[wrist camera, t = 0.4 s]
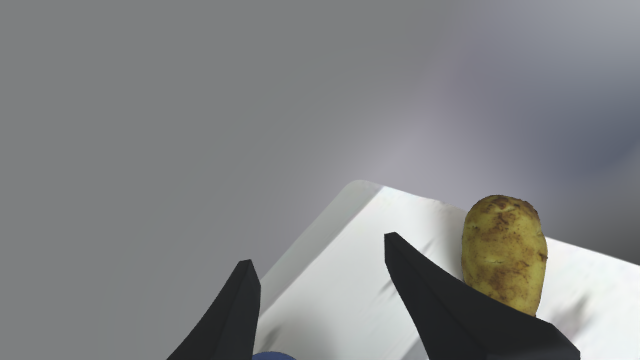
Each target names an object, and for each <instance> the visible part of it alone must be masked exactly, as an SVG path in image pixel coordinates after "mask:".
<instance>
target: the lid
mask: <svg viewBox="0 0 640 360" xmlns="http://www.w3.org/2000/svg"><path fill="white" fill-rule="evenodd" d="M252 360H296V359H294V358H293V357H291V356H289V355H287V354H283V353H280V352H262V353H258V354H255V355H252Z"/></svg>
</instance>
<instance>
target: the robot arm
mask: <svg viewBox="0 0 640 360" xmlns="http://www.w3.org/2000/svg"><path fill="white" fill-rule="evenodd" d="M384 243H385V263H386V266H387V269H388V271H389V274H390V277H391V279H392V281H393V283H394V285H395V287H396V289H397V291H398V293H399V295H400V297H401V299H402V301H403V302H404V304H405V306H406V308H407V310H408V312H409V314H410V316H411V318H412V320H413V322H414V324H415V326H416V328H417V330H418V333H419V335H420V338H421V340H422V342H423V345H424V347H425V350H426V352H427V355H428V357H429V360H580V351H579V350H578V349H577V348H576V347H575V346H574V345H573V344H572V343H571V342H570V341H569V340H568V339H567V338H566V337H565V336H564V335H563V334H562V333H561V332H560V331H559V330H558V329H557V328H556V327H555V326H554V325H553V324H551V323H548V322H546V321H543V320H541V319H538V318H536V317H533V316H531V315H528V314H526V313H523V312H521V311H519V310H516V309H514V308H512V307H510V306H508V305H505V304H503V303H501V302H499V301H497V300H495V299H493V298H491V297H489V296H487V295H485V294H483V293H481V292H479V291H477V290H476V289H474V288H472V287H470V286H468V285H467V284H465V283H463V282H462V281H460V280H458V279H457V278H455V277H453V276H452V275H450V274H449V273H447V272H446V271H444V270H443V269H442V268H440V267H439V266H437V265H436V264H435V263H433V262H432V261H430V260H429V259H428V258H427V257H425V256H424V255H423V254H421V253H420V252H419V251H418V250H416V249H415V248H414V247H413V246H412V245H410V244H409V243H408V242H407V241H406V240H405V239H403V238H402V237H401V236H400V235H399V234H398V233H396V232H392V233H387V234H384ZM260 295H261V285H260V282H259V279H258V277H257V274H256V271H255V269H254V266H253V264H252V261H251V260H250V259H249V260H244V261H240V262H239V263H238V264H237V266H236V267H235V269H234V271H233V272H232V274H231V276H230V277H229V279H228V280H227V282H226V284H225V285H224V287H223V288H222V290H221V291H220V293H219V294H218V296H217V297H216V299H215V300H214V302H213V303H212V305H211V306H210V307H209V309H208V310H207V312H206V313H205V314H204V316H203V317H202V318H201V320H200V321H199V323H198V324H197V325H196V326H195V327H194V329H193V330H192V331H191V332H190V334H189V335H188V336H187V337H186V338H185V340H184V341H183V342H182V343H181V344H180V345H179V346H178V348H177V349H176V350H175V351H174V352H173V353H172V354H171V355H170V356H169V357H168V358H167V360H252V355H253V348H254V341H255V335H256V329H257V322H258V316H259V309H260Z"/></svg>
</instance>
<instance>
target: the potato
mask: <svg viewBox="0 0 640 360" xmlns="http://www.w3.org/2000/svg"><path fill="white" fill-rule="evenodd" d="M547 252H548V251H547V243H546V240H545V237H544V235H543V233H542V231H541V224H540V219H539V217H538V213H537V211H536V210H535V209H534V208H533V206H532V205H530V204H529V203H528V202H527V201H522V200H521V199H516V198H513V197H508V196H503V195H491V196H488V197H485V198H483V199H481V200H480V201H478V202H477V203H476V204H475V205H474V206H473V207H472V208H471V210H470V211H469V212H468V214H467V216H466V219H465V223H464V229H463V236H462V258H461V260H462V270H463V276H464V280H465V283H466V284H467V285H468V286H470V287H472V288H474V289H476V290H477V291H479V292H481V293H483V294H485V295H487V296H489V297H491V298H493V299H495V300H497V301H499V302H501V303H503V304H505V305H508V306H510V307H512V308H514V309H516V310H519V311H521V312H523V313H526V314H528V315H531V316H533V317H536V315H535V313H536V311H537V309H538V306H539V303H540V299H541V292H542V287H543V282H544V276H545V269H546V261H547V259H548V257H547Z"/></svg>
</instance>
